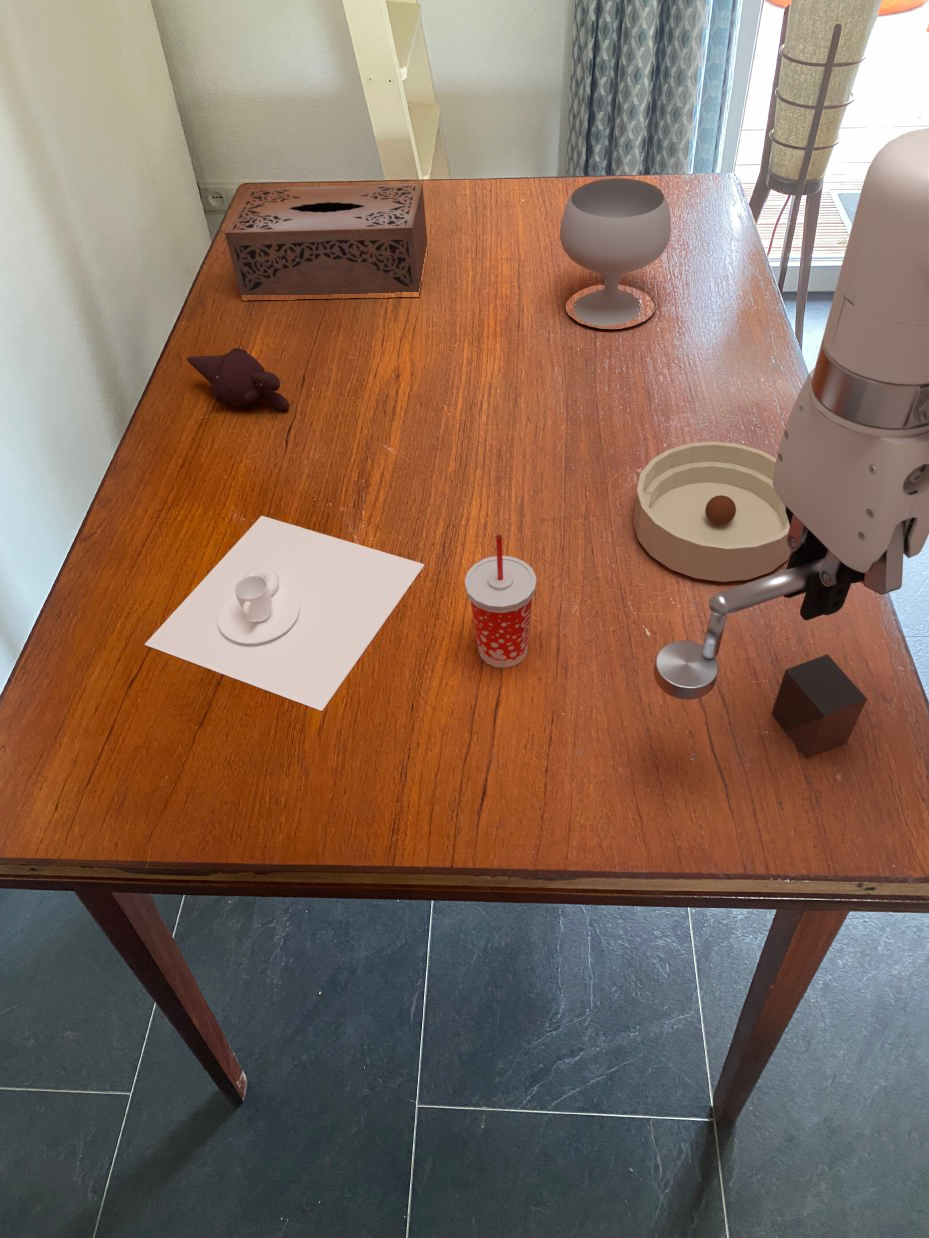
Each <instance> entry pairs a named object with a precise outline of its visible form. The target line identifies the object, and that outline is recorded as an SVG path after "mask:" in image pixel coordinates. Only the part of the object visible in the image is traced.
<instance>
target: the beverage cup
mask: <svg viewBox="0 0 929 1238" xmlns="http://www.w3.org/2000/svg"><path fill="white" fill-rule="evenodd" d="M495 547H496V555H495V556H490V557H486V558H485V557H484V558H483V559H481V560H479V561H477V562H476V563H474V564H473V565H472V566H471V567H470V569H469V570H467V572H466V575H465V578H464V579H465V580H464V587H465V592H466V595H467V598H468V600H469V601H470V608H471V615H472V619H473V627H474V631H475V632H474V633H475V638H476V645H477V651H478V654H479V657H480V658H481V660H483V662H485V664H487V665H490V666H492V667H494V668H502V669H506V668H511V667H515V666H516V665H518V664H520V663H521V662H523V660H524V659H525V658H526V656H527V655H528V649H529V642H530V641H529V640H530V628H531V616H532V606H533V605H532V604H533V597H534V596H535V595H536V589H537V576H536V573H535V571H534V568H532V566H530V565H529V564H528V563H527V562H525V560H521V559H519V558H517V557H514V556H511V555H510V556H509V555H503V537H502V535H501V534H497V535H495Z"/></svg>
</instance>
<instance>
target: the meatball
mask: <svg viewBox="0 0 929 1238" xmlns="http://www.w3.org/2000/svg"><path fill="white" fill-rule="evenodd" d="M705 513H706V516H707V518H708V520H709V521H710V522H712V523H713V524H716V525H725V524H727V523H729V522H730V521H732V519H733V518H734V516H735V514H736V506H735V503H734V502H733V500H732V499H730V498H729V497H727V496H723V495H719V496H715V497H713V498H712V499H710V500H709V502H708V503H707V505H706V508H705Z"/></svg>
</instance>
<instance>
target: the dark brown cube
mask: <svg viewBox="0 0 929 1238" xmlns="http://www.w3.org/2000/svg"><path fill="white" fill-rule="evenodd" d="M867 700H868V698H867V697H866V696H865V694H863V692H862V691H861V690H860V689H859V688H858V687H857V685H856V684H855V683H854V682H853V680H851V679H850V678H849V676H848V675H847V674H846V673H845V672H844V671H843V670H842V669H841V667H840V666H839V665H838V664H837V663H836V662H835V660H833V659H832V658H831V656H830V655H829V654H824V655H822V656H819V657H816V658H813V659H810V660H808V661H805V662H801V663H799V664H797V665H794V666H792V667H788V668H786V669H785V671H784V673H783V676H782V679H781V683H780V686H779V689H778V692H777V695H776V698H775V701H774V704H773V707H772V710H771V713H770V714H771V716H772V717H773V718H774V720H775V721H776V722H777V723H778V724H779V726H780V727H781V728H782V729H783V730H784V732H785V733H786V735H787V736H788V737H789V739H790V740H791V741H792V743H794V745H795V746H796V747H797V749H798V751H800V753H801V754H802V755H803V756H804V757H805V759H809V758H813V757H815V756H818V755H820V754H822V753H826V752H827V751H830V750H832V749H835V748H838V747H840V746H843V745H845V744H847V743H849V741H850V738H851V736H852V734H853V731H854V729H855V727H856V725H857V723H858V720H859V718H860V716H861V714H862V711H863V709H864V707H865V705H866V703H867Z"/></svg>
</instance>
